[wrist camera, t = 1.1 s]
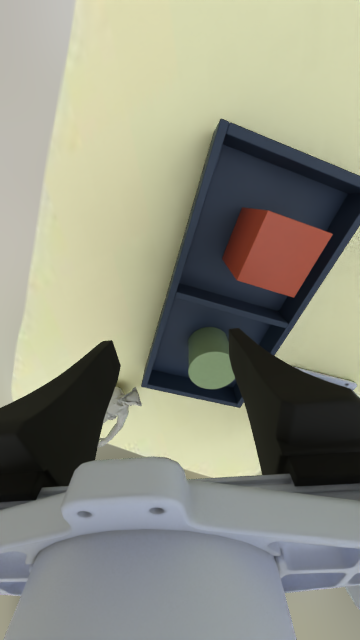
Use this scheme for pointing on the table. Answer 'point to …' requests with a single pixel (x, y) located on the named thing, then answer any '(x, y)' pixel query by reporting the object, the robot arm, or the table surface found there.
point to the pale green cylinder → (209, 358)
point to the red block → (273, 250)
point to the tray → (212, 239)
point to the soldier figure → (119, 410)
